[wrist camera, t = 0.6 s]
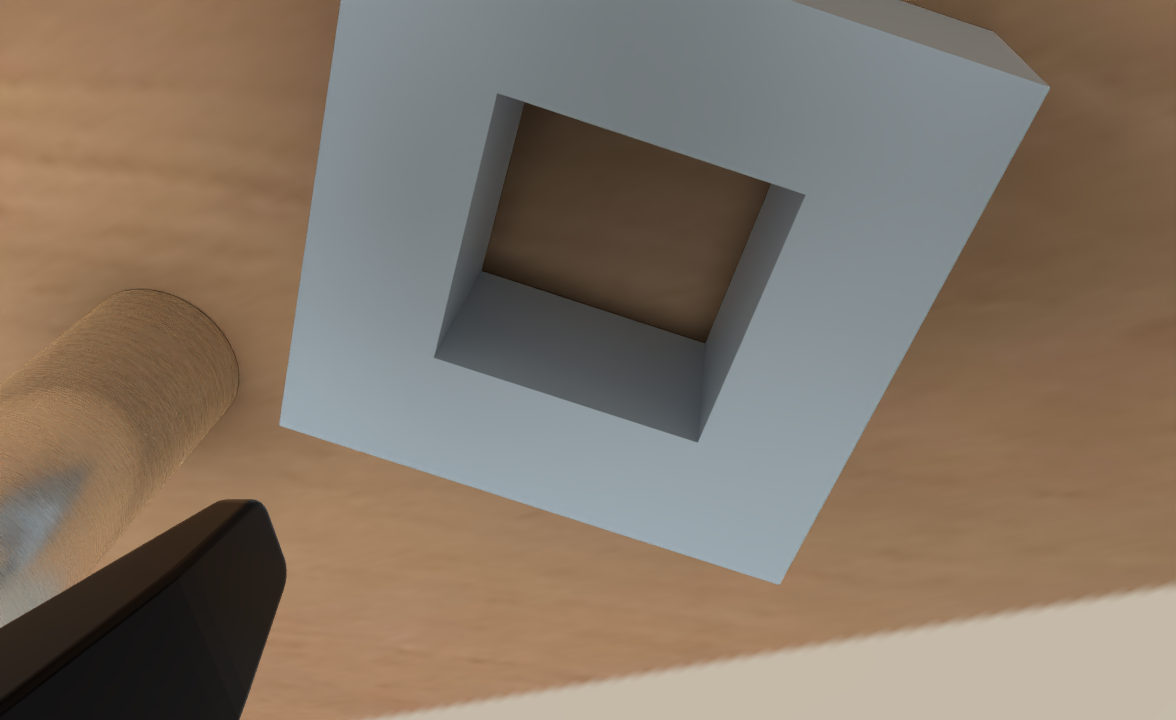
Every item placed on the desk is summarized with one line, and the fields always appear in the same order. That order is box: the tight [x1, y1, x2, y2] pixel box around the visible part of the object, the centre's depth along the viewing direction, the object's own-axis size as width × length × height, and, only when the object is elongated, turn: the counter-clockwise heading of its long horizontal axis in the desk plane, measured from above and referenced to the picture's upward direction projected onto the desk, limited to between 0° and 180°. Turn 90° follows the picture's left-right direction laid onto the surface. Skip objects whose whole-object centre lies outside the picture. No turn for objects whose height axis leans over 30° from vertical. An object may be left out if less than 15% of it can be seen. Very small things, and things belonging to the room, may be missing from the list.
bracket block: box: [279, 0, 1051, 585], centre depth 19 cm, size 11×11×4 cm
